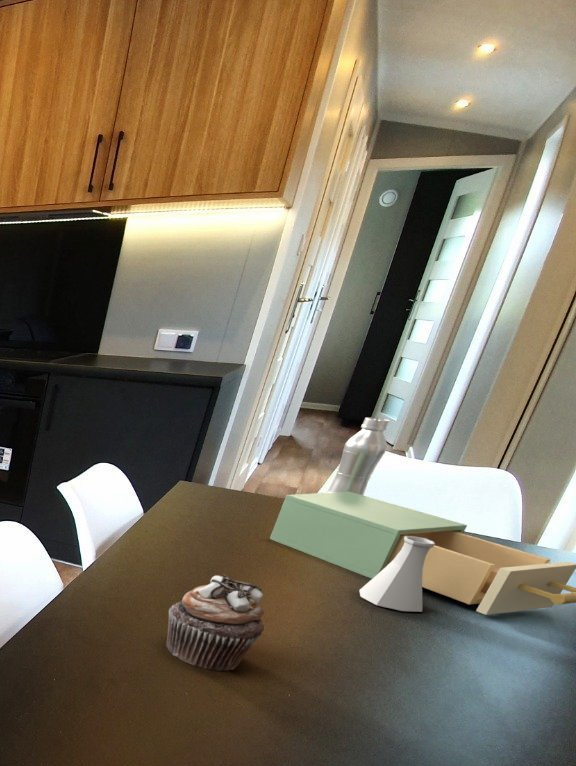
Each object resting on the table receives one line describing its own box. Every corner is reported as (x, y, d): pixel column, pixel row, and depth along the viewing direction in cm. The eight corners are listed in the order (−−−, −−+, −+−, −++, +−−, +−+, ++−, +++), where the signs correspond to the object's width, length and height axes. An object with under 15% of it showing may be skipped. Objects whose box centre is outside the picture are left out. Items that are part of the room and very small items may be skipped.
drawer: (598, 623, 88) (627, 578, 85) (530, 631, 85) (558, 586, 82) (417, 560, 108) (436, 523, 105) (357, 566, 105) (374, 527, 102)
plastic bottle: (352, 515, 133) (395, 418, 124) (358, 524, 127) (402, 423, 119) (314, 509, 136) (353, 414, 127) (318, 517, 131) (359, 419, 122)
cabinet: (442, 573, 105) (467, 525, 101) (375, 580, 102) (399, 530, 98) (330, 534, 121) (348, 491, 118) (269, 539, 118) (286, 494, 114)
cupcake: (171, 627, 85) (194, 558, 81) (256, 655, 79) (285, 583, 75) (147, 652, 79) (170, 579, 75) (237, 684, 73) (268, 607, 69)
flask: (405, 596, 96) (436, 535, 92) (432, 617, 90) (467, 552, 86) (348, 588, 98) (376, 528, 94) (371, 608, 92) (402, 544, 88)
